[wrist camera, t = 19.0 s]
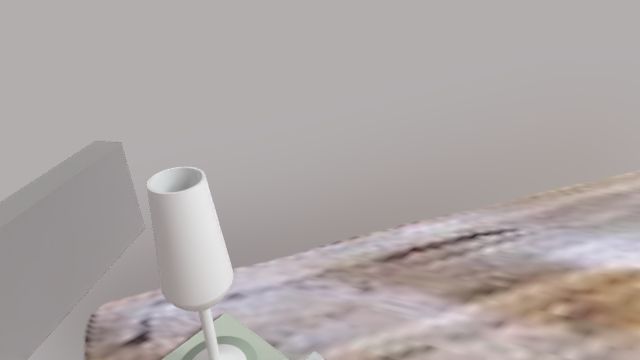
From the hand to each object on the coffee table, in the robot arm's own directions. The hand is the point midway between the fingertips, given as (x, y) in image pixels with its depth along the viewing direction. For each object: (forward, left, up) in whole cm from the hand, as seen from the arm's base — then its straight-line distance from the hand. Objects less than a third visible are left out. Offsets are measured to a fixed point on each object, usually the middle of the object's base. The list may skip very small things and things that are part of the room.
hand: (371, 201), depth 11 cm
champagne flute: (-8, -25, -35) cm, 44 cm away
